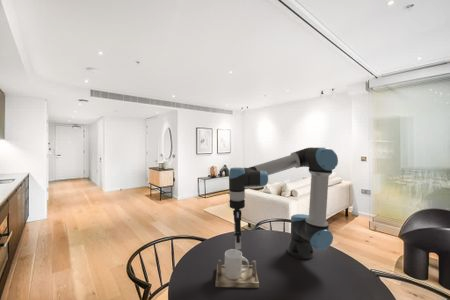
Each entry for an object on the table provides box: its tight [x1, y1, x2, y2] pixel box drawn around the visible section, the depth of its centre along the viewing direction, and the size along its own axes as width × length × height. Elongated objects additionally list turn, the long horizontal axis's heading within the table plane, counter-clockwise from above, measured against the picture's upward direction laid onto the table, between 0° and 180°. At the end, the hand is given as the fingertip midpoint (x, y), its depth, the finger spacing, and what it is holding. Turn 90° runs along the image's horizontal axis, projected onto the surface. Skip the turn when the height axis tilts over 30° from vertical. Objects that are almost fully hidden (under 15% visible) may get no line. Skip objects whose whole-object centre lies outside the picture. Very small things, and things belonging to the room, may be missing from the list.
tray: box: [215, 259, 260, 289], centre depth 101 cm, size 20×14×8 cm
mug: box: [224, 248, 250, 280], centre depth 101 cm, size 9×12×11 cm
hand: (237, 241), depth 101 cm, fingers open, 13 cm apart
